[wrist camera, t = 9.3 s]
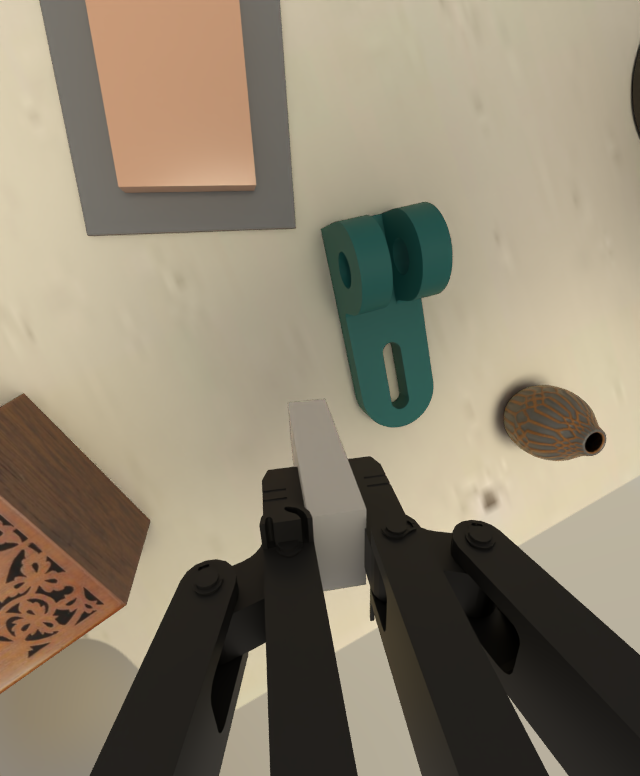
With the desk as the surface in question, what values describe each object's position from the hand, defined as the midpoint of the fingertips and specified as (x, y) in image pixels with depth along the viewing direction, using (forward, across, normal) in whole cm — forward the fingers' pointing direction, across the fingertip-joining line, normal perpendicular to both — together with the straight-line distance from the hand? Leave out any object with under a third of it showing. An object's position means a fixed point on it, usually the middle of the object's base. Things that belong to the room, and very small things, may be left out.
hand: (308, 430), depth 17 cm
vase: (+20, -24, +12) cm, 33 cm away
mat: (+21, +6, -14) cm, 26 cm away
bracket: (+20, -9, +2) cm, 22 cm away
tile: (+18, +6, -10) cm, 21 cm away
